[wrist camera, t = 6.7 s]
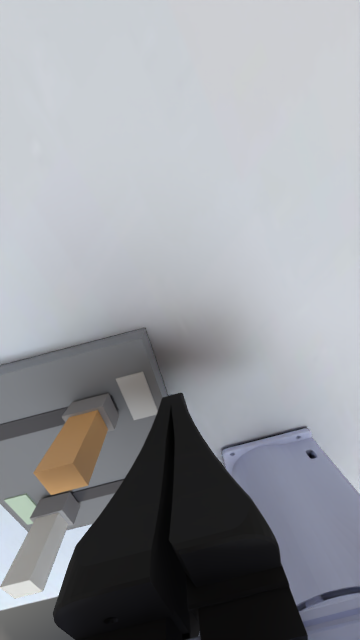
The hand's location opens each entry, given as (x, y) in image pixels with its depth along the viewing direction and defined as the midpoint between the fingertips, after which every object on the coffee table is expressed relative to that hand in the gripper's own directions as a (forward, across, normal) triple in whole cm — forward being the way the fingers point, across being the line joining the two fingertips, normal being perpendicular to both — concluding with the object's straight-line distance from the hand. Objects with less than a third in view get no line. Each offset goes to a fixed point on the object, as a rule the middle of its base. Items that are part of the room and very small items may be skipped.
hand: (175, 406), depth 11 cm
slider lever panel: (+4, +10, +4) cm, 11 cm away
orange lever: (+2, +6, 0) cm, 6 cm away
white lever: (+2, +13, +9) cm, 16 cm away
